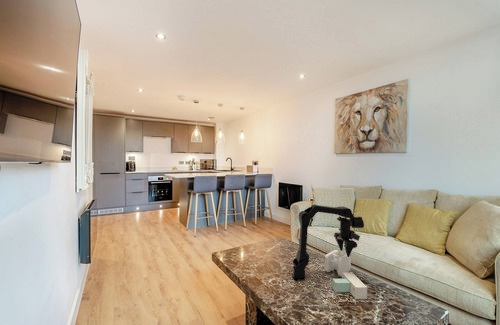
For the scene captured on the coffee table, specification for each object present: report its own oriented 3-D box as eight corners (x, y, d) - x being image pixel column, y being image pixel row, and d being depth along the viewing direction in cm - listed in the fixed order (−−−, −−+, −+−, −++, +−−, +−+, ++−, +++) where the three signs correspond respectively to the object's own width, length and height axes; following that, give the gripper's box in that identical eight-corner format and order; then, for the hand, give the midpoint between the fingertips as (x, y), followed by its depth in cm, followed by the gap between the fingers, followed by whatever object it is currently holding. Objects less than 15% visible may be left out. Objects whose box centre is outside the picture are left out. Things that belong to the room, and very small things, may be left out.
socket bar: (355, 299, 117) (355, 287, 117) (341, 282, 133) (341, 272, 133) (367, 299, 118) (367, 287, 118) (351, 282, 134) (352, 272, 134)
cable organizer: (339, 279, 137) (340, 259, 137) (323, 272, 145) (324, 254, 145) (350, 271, 148) (351, 253, 148) (335, 265, 155) (335, 248, 155)
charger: (335, 292, 123) (335, 283, 123) (332, 287, 127) (332, 278, 127) (354, 292, 123) (354, 282, 123) (350, 287, 128) (350, 278, 128)
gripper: (366, 232, 130) (366, 260, 130) (350, 223, 149) (350, 247, 149) (347, 232, 130) (346, 260, 130) (333, 223, 148) (333, 247, 148)
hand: (344, 253), depth 139 cm, fingers open, 9 cm apart
